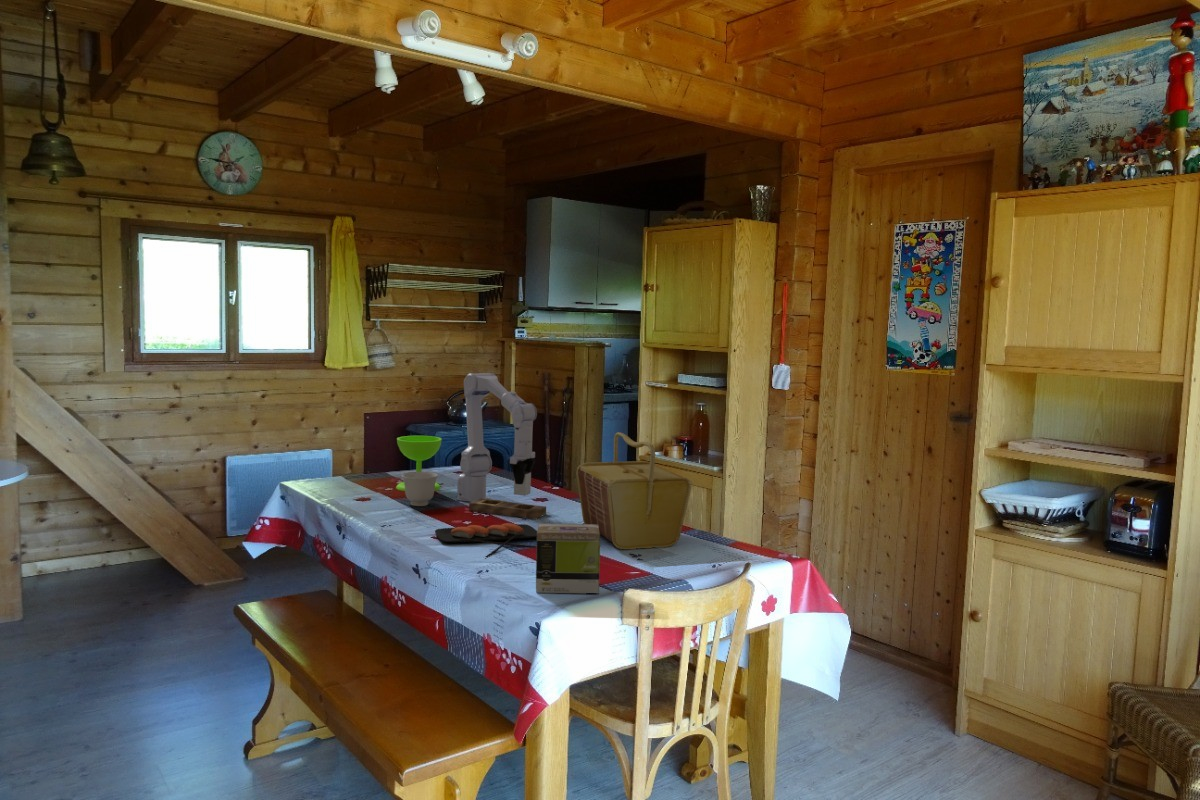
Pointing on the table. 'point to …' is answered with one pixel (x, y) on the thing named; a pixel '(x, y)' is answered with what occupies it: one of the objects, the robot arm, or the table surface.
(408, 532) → the table surface
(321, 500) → the table surface
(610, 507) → the picnic basket
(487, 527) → the sushi plate
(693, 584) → the table surface
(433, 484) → the teacup
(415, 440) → the wineglass
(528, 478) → the beige rectangular block
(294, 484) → the table surface
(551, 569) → the tea box
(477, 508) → the wooden compartment tray
